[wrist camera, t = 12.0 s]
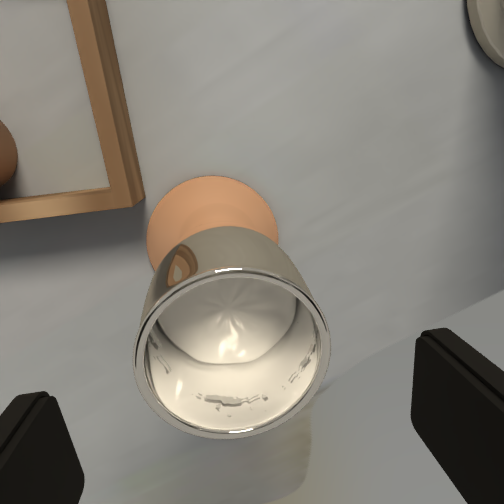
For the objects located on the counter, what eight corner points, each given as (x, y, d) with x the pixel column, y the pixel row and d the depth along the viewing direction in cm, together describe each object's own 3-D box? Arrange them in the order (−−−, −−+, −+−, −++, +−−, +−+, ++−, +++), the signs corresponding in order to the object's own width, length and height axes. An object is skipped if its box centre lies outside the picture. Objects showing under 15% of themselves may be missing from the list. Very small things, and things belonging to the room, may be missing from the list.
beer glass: (211, 300, 26) (218, 476, 12) (152, 234, 24) (74, 355, 10) (280, 248, 26) (373, 367, 12) (226, 176, 24) (257, 213, 9)
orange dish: (270, 168, 25) (272, 168, 24) (280, 288, 28) (282, 292, 27) (135, 184, 24) (133, 185, 23) (161, 307, 27) (160, 311, 26)
